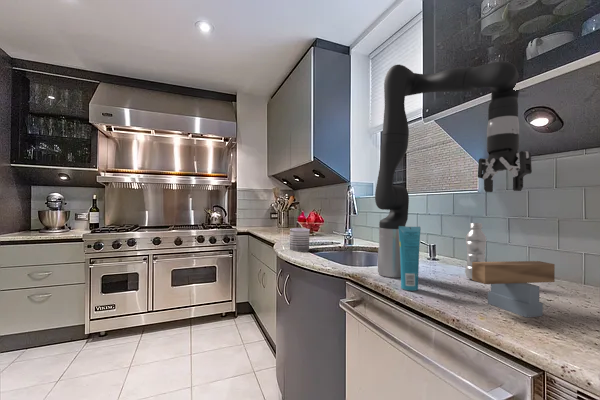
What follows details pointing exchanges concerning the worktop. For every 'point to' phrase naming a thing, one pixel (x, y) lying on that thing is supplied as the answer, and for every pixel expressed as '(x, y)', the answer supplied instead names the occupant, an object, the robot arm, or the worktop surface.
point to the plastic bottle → (475, 247)
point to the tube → (409, 256)
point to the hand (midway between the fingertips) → (502, 191)
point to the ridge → (517, 298)
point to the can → (299, 239)
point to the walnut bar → (513, 272)
